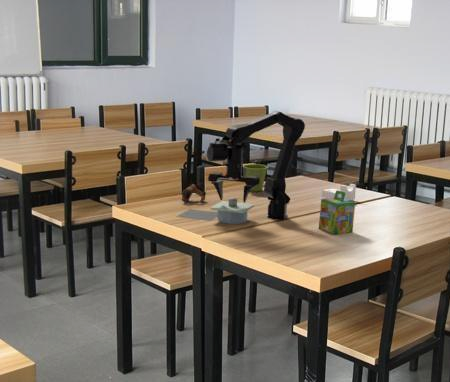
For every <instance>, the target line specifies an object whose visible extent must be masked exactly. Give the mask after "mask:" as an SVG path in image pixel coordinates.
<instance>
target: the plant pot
mask: <svg viewBox="0 0 450 382" xmlns="http://www.w3.org/2000/svg"><path fill="white" fill-rule="evenodd" d="M243 167H245V168H246V176H245V177H248V176H249V175H250V176H258V177H259V179H260V180H259V184H258V185H256V186H254V187H252V188H251V190H250V192H254V191H256V192H262V191H263V190H264V189H263V188H264V187H263V186H264V185H265V180H266V175H267V171H268V169H269V166H268V165H265V164H259V163H258V164H257V163H255V164H253V163H251V164H250V163H249V164H243ZM261 190H262V191H261Z"/></svg>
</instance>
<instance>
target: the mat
mask: <svg viewBox="0 0 450 382" xmlns="http://www.w3.org/2000/svg"><path fill="white" fill-rule="evenodd" d="M175 217H177V218H185V219H192V220H193V219H194V220H201V221H207V222H209V221H212V220H214V219H216V218H217V211H209V210H208V211H207V210H201V209H192V208H190V209H188V210H186V211H183V212H182V213H179V214H178V215H176V216H175Z"/></svg>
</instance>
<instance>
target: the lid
mask: <svg viewBox="0 0 450 382" xmlns="http://www.w3.org/2000/svg"><path fill="white" fill-rule="evenodd" d="M254 207H255V204H252V203H246V202H245V203H244V202H238V198H236V197H229V198H228V201H226V200H220V202H218V203H216V204H214V205H212V206H210V210H212V211H217V210H219V211H227V212H236V213H245V212H246V211H247V212H248V211H249V210H251V209H253V208H254Z"/></svg>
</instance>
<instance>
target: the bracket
mask: <svg viewBox="0 0 450 382" xmlns="http://www.w3.org/2000/svg"><path fill="white" fill-rule="evenodd" d="M347 187H348V188H347ZM356 187H357V184H354V183H349V186H346V185H343V184H341V185H340V189H336V188H329V189H327V188H326V189H322V191H321V194H322V195H321V198H323V197H326V198H325V199H327V198H334V196H335V193H336V191H337V190H338V191H342V192H345V197H344V199H347V200H350V201H353V200H356V190H357V188H356ZM338 197H340V198H341V197H342V195H341V194H338Z"/></svg>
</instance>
